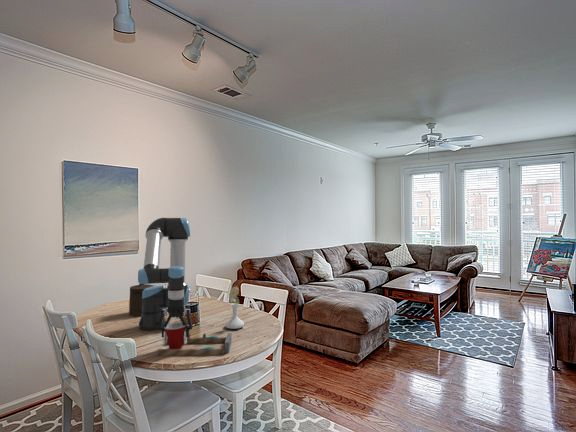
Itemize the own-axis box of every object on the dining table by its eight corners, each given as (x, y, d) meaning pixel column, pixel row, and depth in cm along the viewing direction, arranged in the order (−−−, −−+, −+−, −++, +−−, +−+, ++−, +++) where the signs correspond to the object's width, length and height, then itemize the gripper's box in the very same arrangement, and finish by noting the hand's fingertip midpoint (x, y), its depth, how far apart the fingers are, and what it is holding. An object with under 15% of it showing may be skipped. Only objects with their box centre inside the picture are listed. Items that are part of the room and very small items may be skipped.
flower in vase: (223, 325, 198) (223, 284, 198) (241, 323, 202) (242, 282, 202) (227, 332, 186) (228, 288, 186) (247, 330, 190) (247, 287, 190)
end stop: (224, 352, 158) (224, 342, 158) (227, 342, 171) (227, 333, 171) (228, 352, 158) (229, 342, 158) (231, 342, 171) (231, 332, 171)
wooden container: (156, 310, 228) (156, 278, 228) (148, 316, 213) (148, 283, 213) (134, 310, 228) (135, 278, 228) (125, 316, 213) (125, 283, 213)
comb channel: (157, 355, 154) (157, 346, 154) (167, 342, 170) (167, 334, 170) (224, 354, 156) (224, 345, 156) (227, 341, 172) (227, 333, 172)
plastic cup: (175, 343, 169) (175, 319, 169) (191, 346, 165) (191, 322, 165) (158, 350, 160) (158, 325, 160) (175, 354, 155) (175, 329, 155)
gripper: (150, 300, 158) (150, 346, 158) (196, 299, 159) (196, 346, 159) (155, 296, 165) (155, 341, 165) (199, 296, 167) (199, 340, 167)
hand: (175, 343), depth 162 cm, fingers closed on plastic cup, 9 cm apart
